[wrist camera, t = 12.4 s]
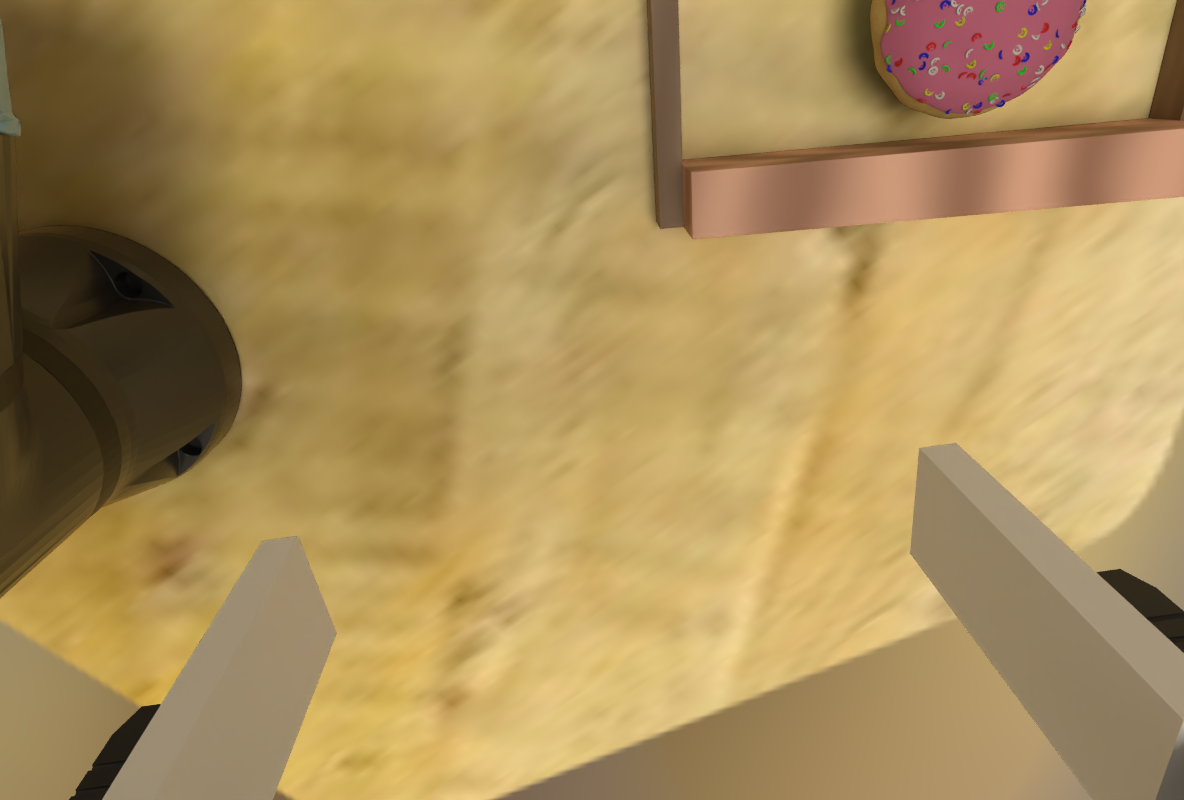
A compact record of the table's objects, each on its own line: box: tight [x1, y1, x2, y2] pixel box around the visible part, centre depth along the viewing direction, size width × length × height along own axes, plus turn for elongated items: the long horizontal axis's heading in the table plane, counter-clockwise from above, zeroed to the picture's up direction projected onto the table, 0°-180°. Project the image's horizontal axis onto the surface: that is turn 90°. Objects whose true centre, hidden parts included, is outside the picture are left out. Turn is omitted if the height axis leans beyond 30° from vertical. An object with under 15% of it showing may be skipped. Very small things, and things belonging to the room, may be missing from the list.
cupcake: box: [870, 0, 1086, 119], centre depth 27 cm, size 9×8×12 cm
